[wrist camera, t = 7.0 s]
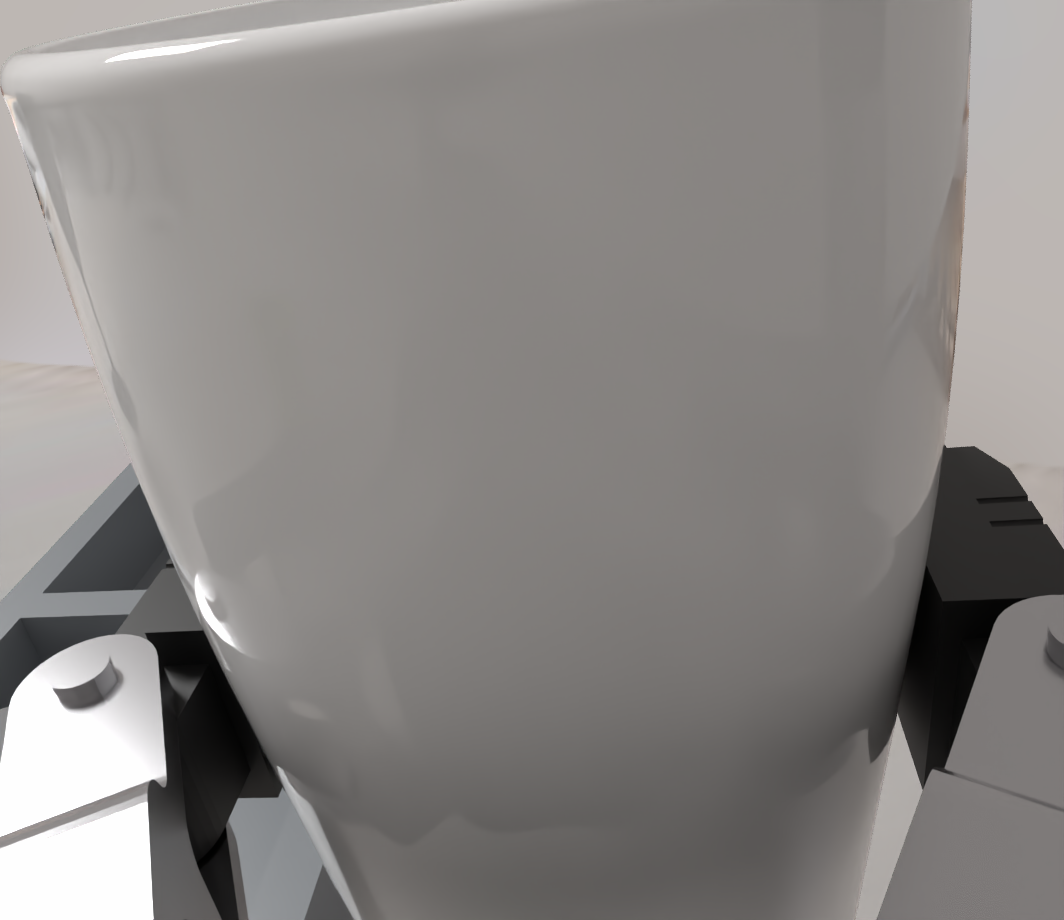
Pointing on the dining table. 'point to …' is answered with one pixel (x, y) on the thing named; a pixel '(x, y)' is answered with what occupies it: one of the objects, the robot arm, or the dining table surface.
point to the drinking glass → (535, 416)
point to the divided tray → (99, 610)
